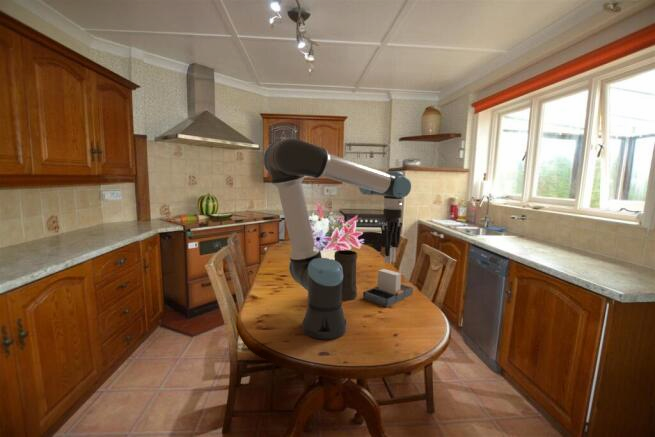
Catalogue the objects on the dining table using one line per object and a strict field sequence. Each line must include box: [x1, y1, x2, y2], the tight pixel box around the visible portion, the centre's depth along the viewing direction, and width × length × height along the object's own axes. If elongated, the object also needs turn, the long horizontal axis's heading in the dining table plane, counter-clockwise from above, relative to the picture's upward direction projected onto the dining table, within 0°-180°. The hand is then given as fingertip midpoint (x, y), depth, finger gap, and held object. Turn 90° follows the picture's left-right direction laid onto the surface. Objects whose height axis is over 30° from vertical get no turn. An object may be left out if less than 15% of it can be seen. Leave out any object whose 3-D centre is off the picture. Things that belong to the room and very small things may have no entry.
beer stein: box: [333, 249, 358, 301], centre depth 134 cm, size 15×11×20 cm
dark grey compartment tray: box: [362, 283, 414, 308], centre depth 133 cm, size 20×12×4 cm, turn 135°
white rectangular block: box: [377, 268, 402, 295], centre depth 133 cm, size 4×9×10 cm, turn 47°
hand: (389, 262), depth 131 cm, fingers open, 3 cm apart
